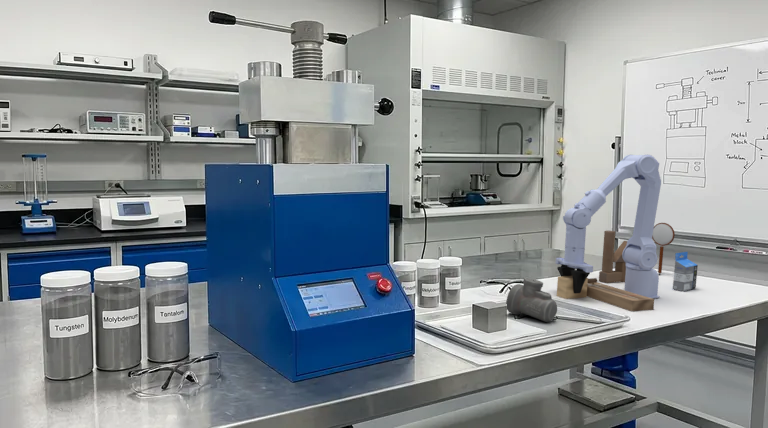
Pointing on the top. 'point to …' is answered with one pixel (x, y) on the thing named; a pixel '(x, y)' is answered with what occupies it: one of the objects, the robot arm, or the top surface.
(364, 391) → the top surface
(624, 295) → the walnut plank
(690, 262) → the label tape cartridge
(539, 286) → the grey electric motor
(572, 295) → the light wood pillar
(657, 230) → the magnifying glass
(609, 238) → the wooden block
